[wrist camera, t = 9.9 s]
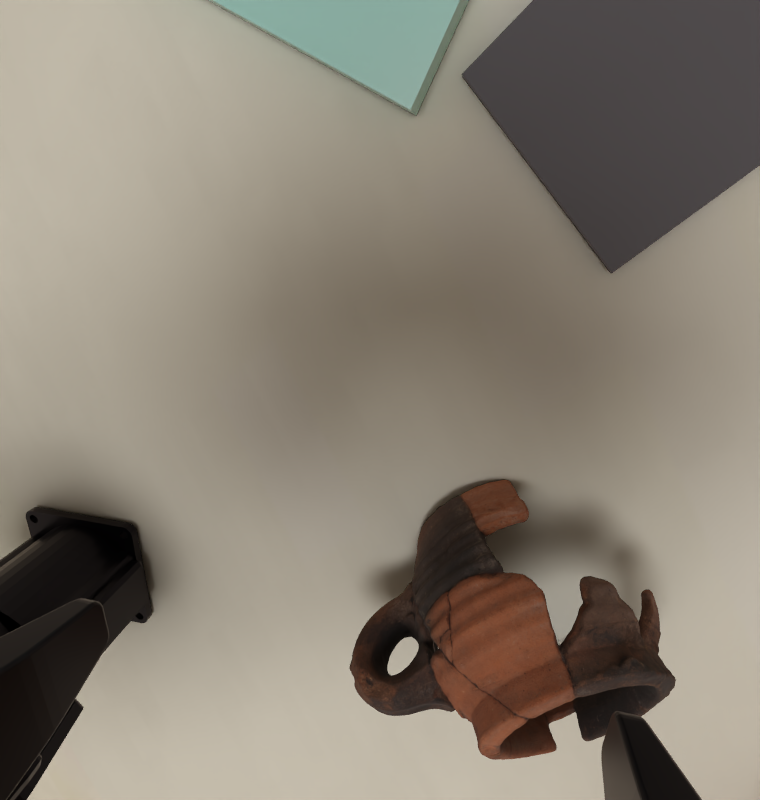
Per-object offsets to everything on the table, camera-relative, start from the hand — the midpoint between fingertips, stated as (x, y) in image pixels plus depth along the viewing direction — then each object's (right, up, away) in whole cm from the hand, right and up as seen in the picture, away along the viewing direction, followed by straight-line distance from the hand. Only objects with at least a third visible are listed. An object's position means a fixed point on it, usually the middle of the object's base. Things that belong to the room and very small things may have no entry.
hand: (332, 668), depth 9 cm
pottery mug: (+6, -3, +15) cm, 16 cm away
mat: (+9, +14, +7) cm, 18 cm away
